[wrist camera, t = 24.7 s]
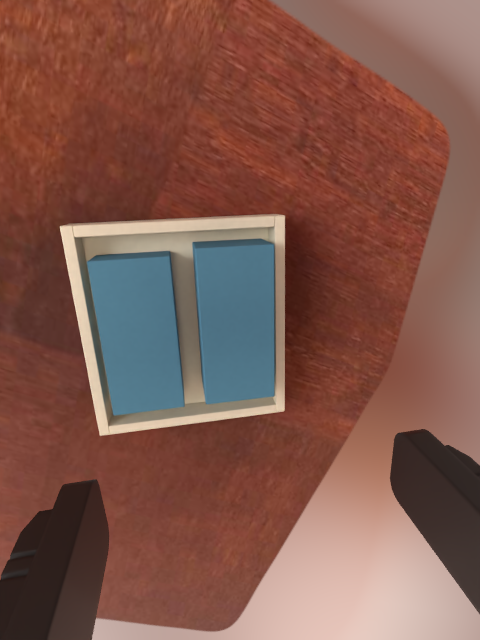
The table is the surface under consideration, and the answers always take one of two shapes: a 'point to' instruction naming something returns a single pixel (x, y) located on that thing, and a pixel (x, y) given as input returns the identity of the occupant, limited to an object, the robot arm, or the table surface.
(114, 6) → the table surface
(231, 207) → the table surface
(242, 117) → the table surface
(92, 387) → the cream tray
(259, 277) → the blue rectangular block
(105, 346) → the blue brick
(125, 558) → the table surface
